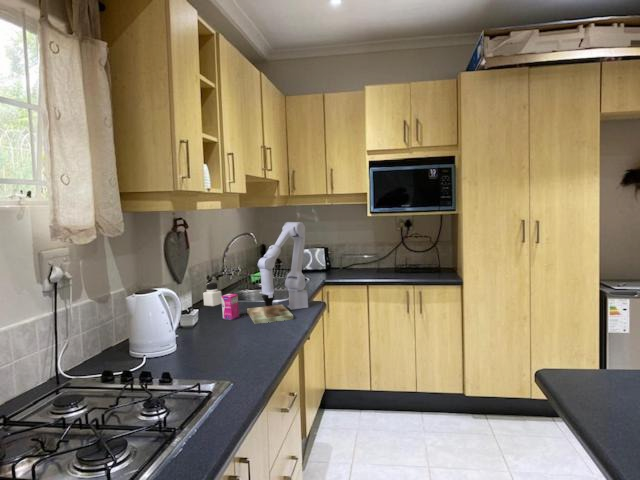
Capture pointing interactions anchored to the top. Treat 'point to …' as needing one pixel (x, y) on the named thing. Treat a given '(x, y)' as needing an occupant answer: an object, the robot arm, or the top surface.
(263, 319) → the trap deck
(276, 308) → the walnut block
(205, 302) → the medicine bottle
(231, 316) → the supplement box
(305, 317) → the top surface
